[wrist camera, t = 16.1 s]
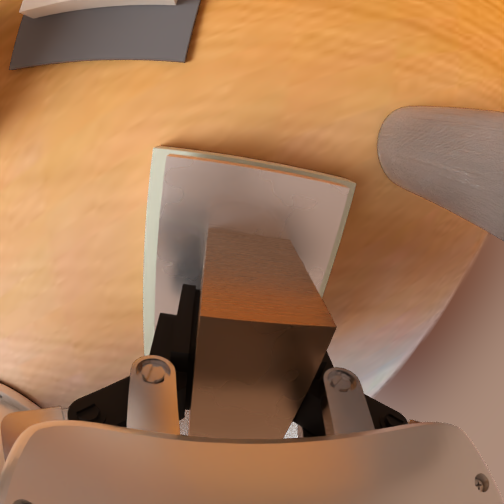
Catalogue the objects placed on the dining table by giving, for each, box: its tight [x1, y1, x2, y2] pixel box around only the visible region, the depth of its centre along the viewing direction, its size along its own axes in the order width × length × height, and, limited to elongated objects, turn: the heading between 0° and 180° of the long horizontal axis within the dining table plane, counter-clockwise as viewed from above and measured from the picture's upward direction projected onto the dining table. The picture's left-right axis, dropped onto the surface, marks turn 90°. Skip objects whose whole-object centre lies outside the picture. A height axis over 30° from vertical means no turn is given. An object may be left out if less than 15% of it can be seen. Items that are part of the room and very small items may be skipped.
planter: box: [377, 106, 504, 241], centre depth 9 cm, size 4×4×10 cm
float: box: [154, 154, 350, 439], centre depth 11 cm, size 12×7×6 cm, turn 169°
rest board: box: [143, 146, 356, 356], centre depth 15 cm, size 12×9×1 cm
